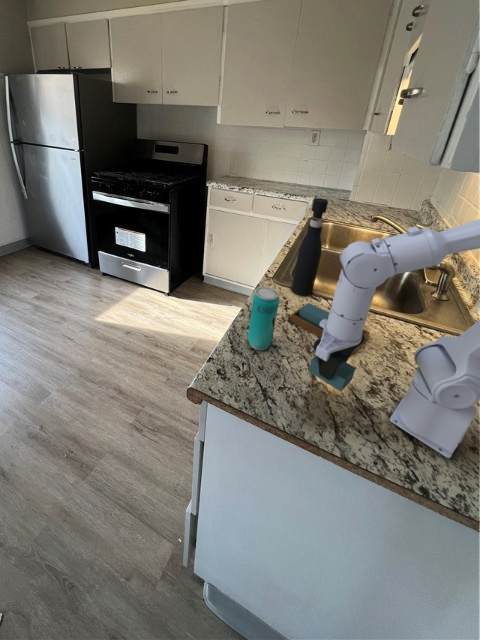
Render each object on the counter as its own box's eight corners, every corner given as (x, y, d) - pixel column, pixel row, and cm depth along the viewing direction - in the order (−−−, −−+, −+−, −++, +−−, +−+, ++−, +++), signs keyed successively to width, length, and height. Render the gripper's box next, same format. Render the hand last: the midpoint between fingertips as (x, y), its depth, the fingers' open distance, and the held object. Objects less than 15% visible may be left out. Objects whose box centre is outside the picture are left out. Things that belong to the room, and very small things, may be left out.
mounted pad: (330, 323, 85) (332, 314, 84) (321, 330, 82) (324, 320, 81) (306, 311, 90) (308, 302, 88) (298, 317, 87) (300, 308, 86)
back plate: (367, 338, 80) (370, 332, 80) (351, 355, 75) (354, 348, 74) (307, 308, 92) (308, 302, 91) (289, 320, 86) (290, 314, 86)
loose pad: (351, 379, 59) (355, 367, 58) (341, 392, 56) (344, 380, 55) (319, 360, 64) (322, 348, 62) (308, 371, 61) (311, 359, 60)
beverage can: (271, 354, 74) (280, 301, 68) (246, 350, 75) (253, 297, 69) (270, 338, 79) (279, 287, 73) (247, 335, 80) (254, 284, 74)
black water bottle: (289, 285, 104) (306, 196, 91) (309, 287, 103) (329, 197, 90) (292, 295, 98) (311, 202, 85) (313, 297, 98) (335, 203, 85)
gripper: (344, 287, 61) (329, 342, 66) (305, 315, 52) (292, 376, 58) (383, 303, 56) (364, 360, 62) (347, 337, 47) (328, 401, 53)
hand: (331, 369), depth 59 cm, fingers closed on loose pad, 4 cm apart
